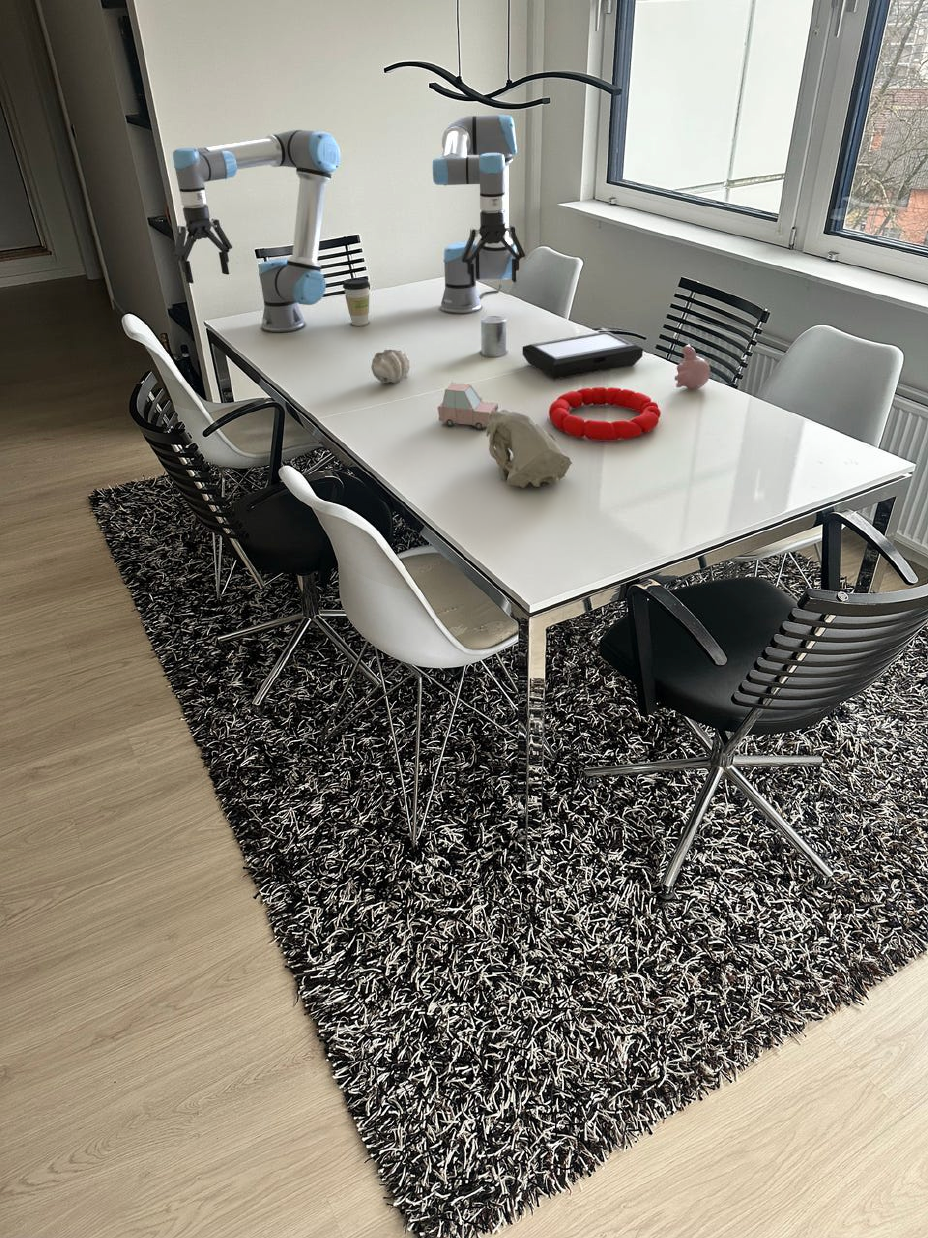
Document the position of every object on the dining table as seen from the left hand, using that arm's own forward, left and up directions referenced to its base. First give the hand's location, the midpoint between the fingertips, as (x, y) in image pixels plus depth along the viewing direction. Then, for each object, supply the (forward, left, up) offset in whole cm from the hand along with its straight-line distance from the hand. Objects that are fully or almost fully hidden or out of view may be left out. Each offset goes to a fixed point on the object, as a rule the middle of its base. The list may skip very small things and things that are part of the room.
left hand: (208, 278), depth 283 cm
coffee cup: (-29, +48, -26) cm, 62 cm away
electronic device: (+36, +113, -26) cm, 122 cm away
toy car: (+75, +70, -26) cm, 105 cm away
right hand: (+17, +89, -4) cm, 91 cm away
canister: (+17, +89, -26) cm, 94 cm away
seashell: (+37, +53, -26) cm, 70 cm away
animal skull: (+107, +77, -26) cm, 135 cm away
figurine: (+65, +138, -26) cm, 155 cm away
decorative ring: (+83, +106, -26) cm, 137 cm away
